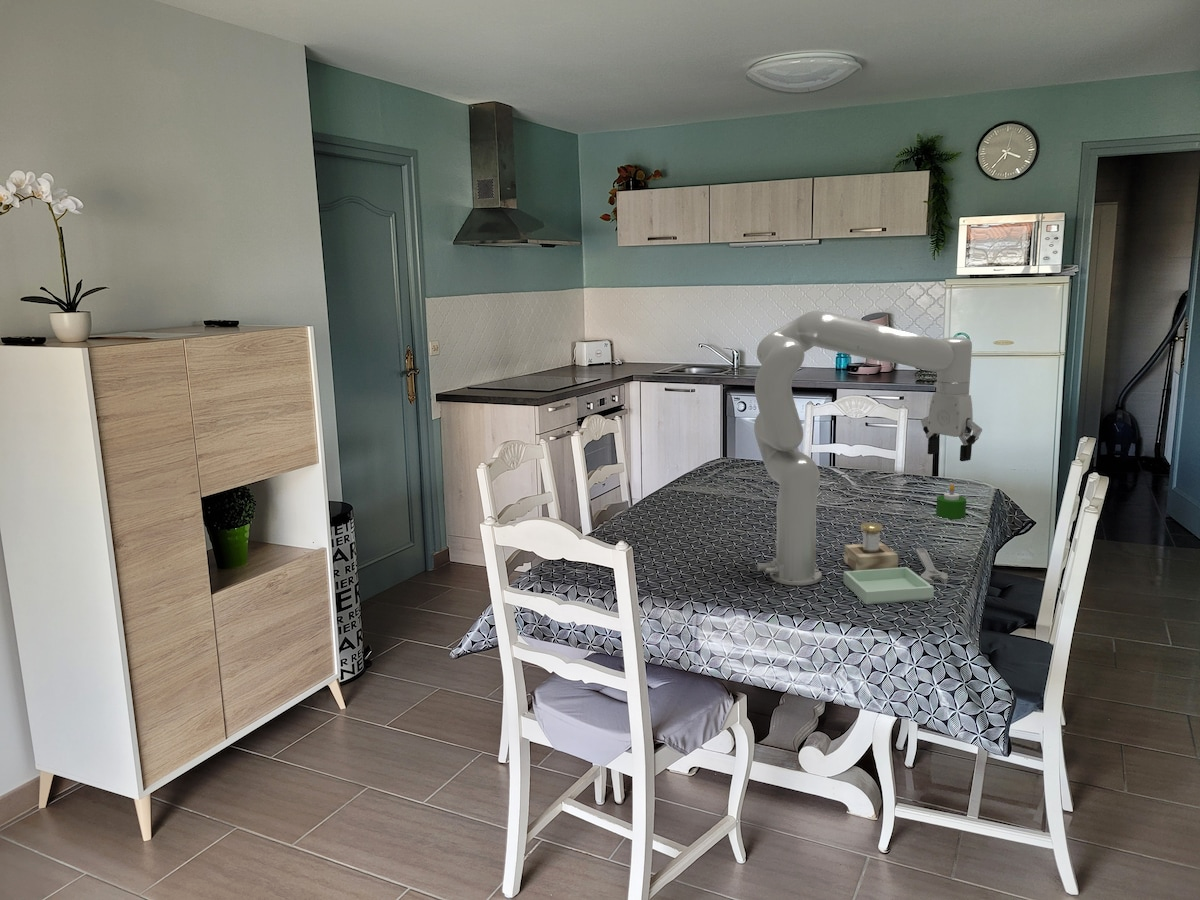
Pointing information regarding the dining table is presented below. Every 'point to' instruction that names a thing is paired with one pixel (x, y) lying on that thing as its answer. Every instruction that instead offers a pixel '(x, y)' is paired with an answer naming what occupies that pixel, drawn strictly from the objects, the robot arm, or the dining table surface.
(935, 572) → the adjustable wrench
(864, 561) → the block
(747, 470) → the dining table surface
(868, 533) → the gold-capped cylinder
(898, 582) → the tray
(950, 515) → the candle
